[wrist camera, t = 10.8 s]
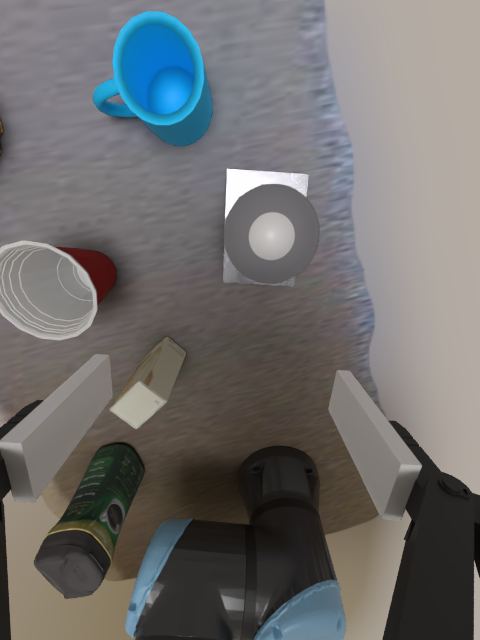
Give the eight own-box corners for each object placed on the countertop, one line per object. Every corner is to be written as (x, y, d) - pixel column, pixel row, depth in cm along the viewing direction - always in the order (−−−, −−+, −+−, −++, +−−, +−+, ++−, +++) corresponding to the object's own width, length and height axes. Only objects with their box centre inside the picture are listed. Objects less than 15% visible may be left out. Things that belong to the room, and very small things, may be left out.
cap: (315, 190, 28) (328, 186, 24) (303, 278, 32) (312, 286, 28) (227, 184, 28) (225, 179, 24) (224, 273, 31) (221, 281, 28)
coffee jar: (90, 446, 50) (13, 567, 33) (130, 437, 50) (72, 556, 32) (113, 483, 54) (53, 610, 36) (150, 475, 53) (107, 600, 36)
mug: (205, 55, 30) (193, 1, 23) (218, 140, 33) (211, 117, 26) (101, 75, 31) (56, 30, 23) (123, 157, 34) (89, 139, 26)
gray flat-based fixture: (292, 284, 40) (309, 306, 30) (223, 280, 39) (218, 301, 30) (306, 176, 35) (332, 160, 25) (227, 170, 34) (222, 152, 25)
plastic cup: (88, 319, 42) (33, 358, 30) (42, 253, 38) (-40, 269, 27) (150, 290, 40) (115, 319, 29) (107, 219, 36) (48, 220, 25)
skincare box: (167, 334, 42) (140, 378, 31) (187, 352, 44) (169, 401, 32) (141, 360, 44) (106, 410, 33) (162, 376, 45) (135, 431, 34)
